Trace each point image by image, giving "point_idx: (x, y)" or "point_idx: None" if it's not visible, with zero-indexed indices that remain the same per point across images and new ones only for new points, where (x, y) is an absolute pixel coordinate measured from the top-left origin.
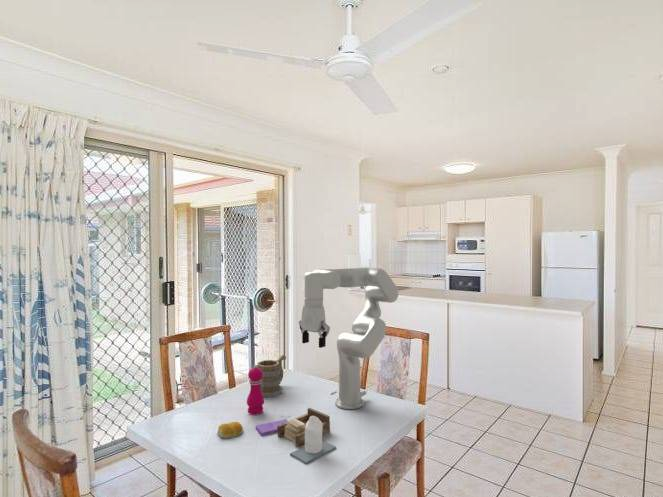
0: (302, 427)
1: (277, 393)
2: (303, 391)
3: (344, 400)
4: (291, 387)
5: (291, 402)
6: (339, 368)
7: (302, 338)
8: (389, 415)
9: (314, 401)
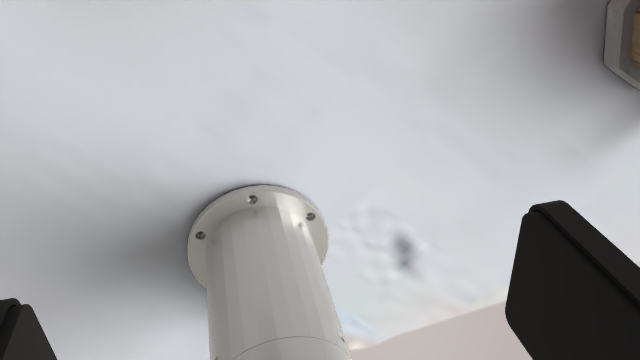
0: None
1: (610, 31)
2: (525, 159)
3: (242, 224)
4: (604, 140)
5: (479, 32)
6: (318, 344)
7: (622, 260)
8: (41, 306)
9: (399, 134)
